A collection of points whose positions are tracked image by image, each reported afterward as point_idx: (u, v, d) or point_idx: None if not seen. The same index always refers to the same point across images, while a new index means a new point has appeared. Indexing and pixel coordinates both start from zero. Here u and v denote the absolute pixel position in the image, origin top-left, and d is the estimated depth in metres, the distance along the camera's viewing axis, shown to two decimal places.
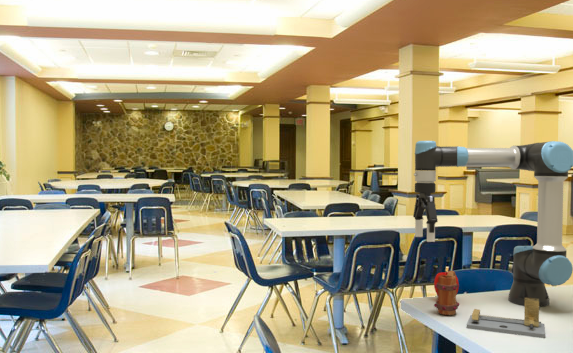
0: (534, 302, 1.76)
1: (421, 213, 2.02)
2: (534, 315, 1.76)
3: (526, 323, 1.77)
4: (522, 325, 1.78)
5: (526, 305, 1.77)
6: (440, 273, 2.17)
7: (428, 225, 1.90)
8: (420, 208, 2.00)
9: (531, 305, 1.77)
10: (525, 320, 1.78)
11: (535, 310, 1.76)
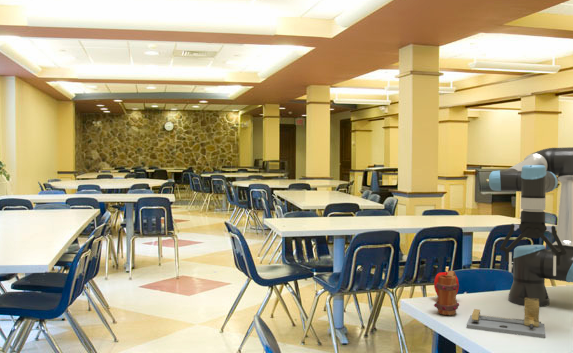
0: (534, 302, 1.76)
1: None
2: (534, 315, 1.76)
3: (526, 323, 1.77)
4: (522, 325, 1.78)
5: (526, 305, 1.77)
6: (440, 273, 2.17)
7: None
8: None
9: (531, 305, 1.77)
10: (525, 320, 1.78)
11: (535, 310, 1.76)
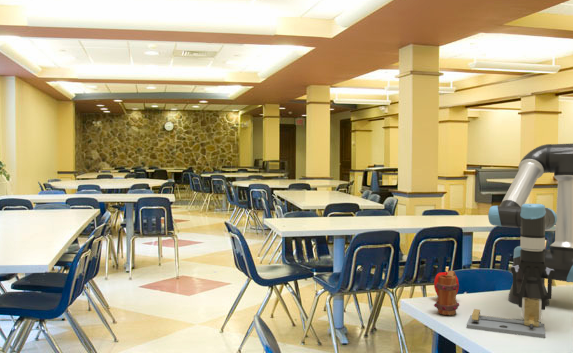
0: (534, 302, 1.76)
1: (539, 289, 1.77)
2: (534, 315, 1.76)
3: (526, 323, 1.77)
4: (522, 325, 1.78)
5: (526, 305, 1.77)
6: (440, 273, 2.17)
7: None
8: None
9: (531, 305, 1.77)
10: (525, 320, 1.78)
11: (535, 310, 1.76)
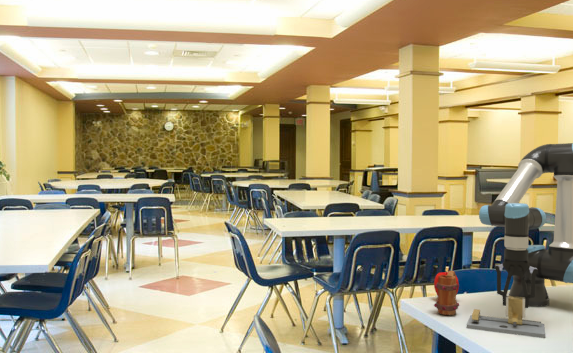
0: (518, 300, 1.78)
1: (522, 288, 1.79)
2: (518, 313, 1.79)
3: (510, 321, 1.80)
4: (522, 325, 1.78)
5: (510, 303, 1.80)
6: (440, 273, 2.17)
7: None
8: None
9: (515, 303, 1.79)
10: (509, 318, 1.80)
11: (519, 308, 1.78)
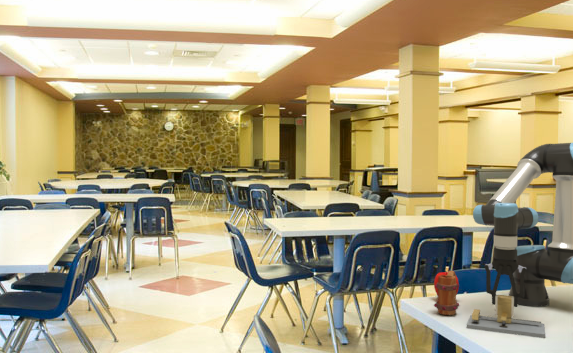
0: (507, 299, 1.80)
1: (511, 287, 1.81)
2: (507, 312, 1.80)
3: (499, 320, 1.81)
4: (522, 325, 1.78)
5: (499, 302, 1.81)
6: (440, 273, 2.17)
7: None
8: None
9: (504, 302, 1.80)
10: (498, 317, 1.81)
11: (507, 307, 1.80)
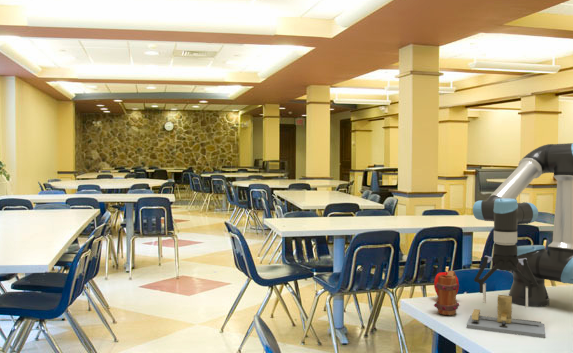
0: (507, 299, 1.80)
1: (522, 279, 1.80)
2: (507, 312, 1.80)
3: (499, 320, 1.81)
4: (522, 325, 1.78)
5: (499, 302, 1.81)
6: (440, 273, 2.17)
7: None
8: None
9: (504, 302, 1.80)
10: (498, 317, 1.81)
11: (507, 307, 1.80)
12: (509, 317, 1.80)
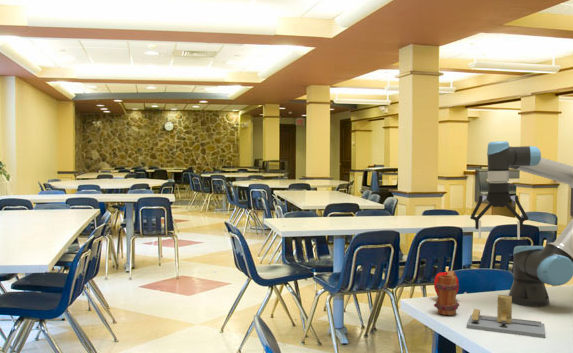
0: (507, 299, 1.80)
1: (514, 214, 1.97)
2: (507, 312, 1.80)
3: (499, 320, 1.81)
4: (522, 325, 1.78)
5: (499, 302, 1.81)
6: (440, 273, 2.17)
7: None
8: None
9: (504, 302, 1.80)
10: (498, 317, 1.81)
11: (507, 307, 1.80)
12: (509, 317, 1.80)
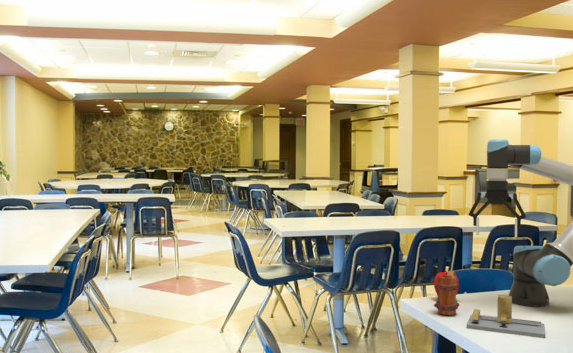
0: (507, 299, 1.80)
1: None
2: (507, 312, 1.80)
3: (499, 320, 1.81)
4: (522, 325, 1.78)
5: (499, 302, 1.81)
6: (440, 273, 2.17)
7: None
8: None
9: (504, 302, 1.80)
10: (498, 317, 1.81)
11: (507, 307, 1.80)
12: (509, 317, 1.80)
